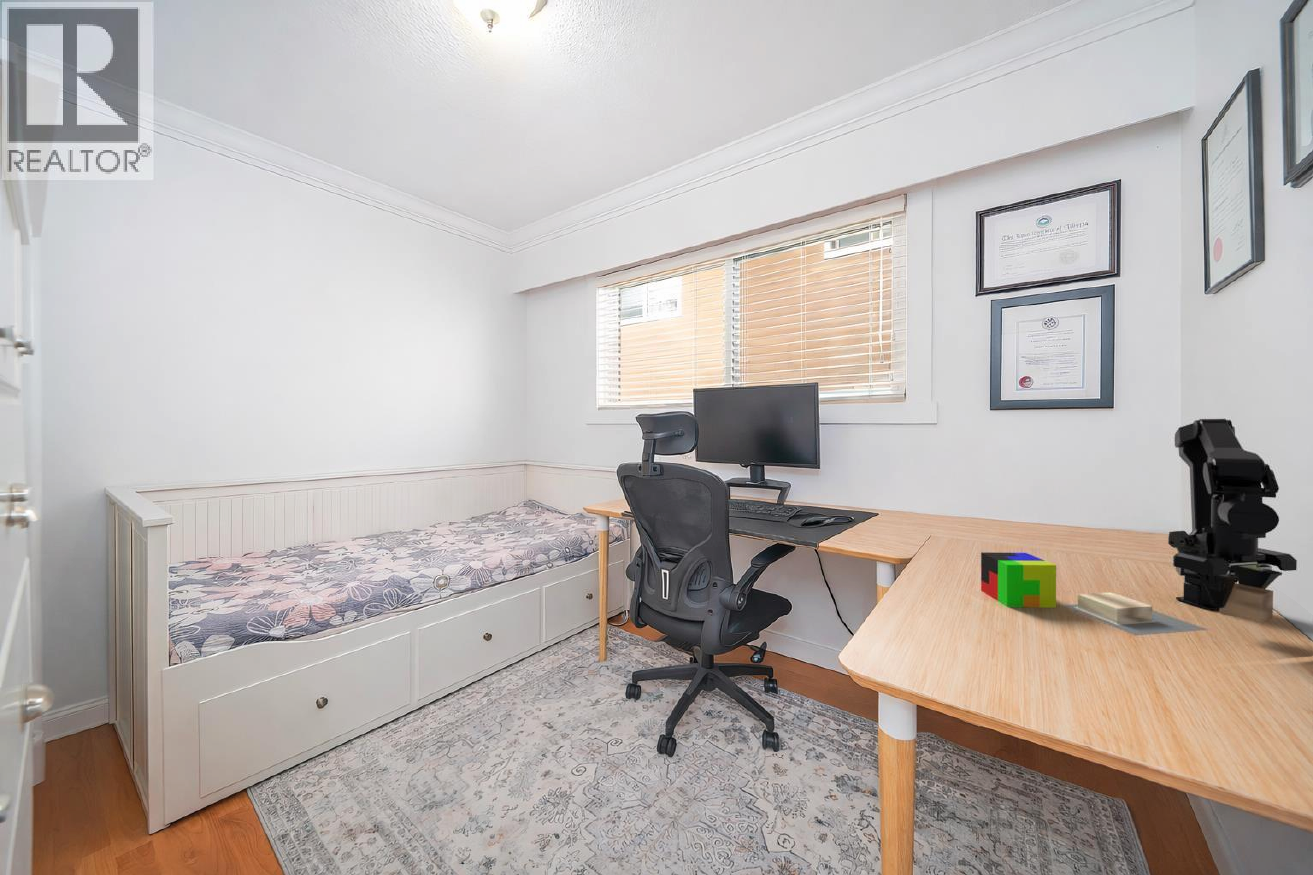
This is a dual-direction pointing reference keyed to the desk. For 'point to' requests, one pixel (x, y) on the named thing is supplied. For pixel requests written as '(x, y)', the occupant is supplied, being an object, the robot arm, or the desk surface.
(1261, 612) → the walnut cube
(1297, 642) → the desk surface
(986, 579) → the puzzle toy
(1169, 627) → the build mat
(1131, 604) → the maple slab
